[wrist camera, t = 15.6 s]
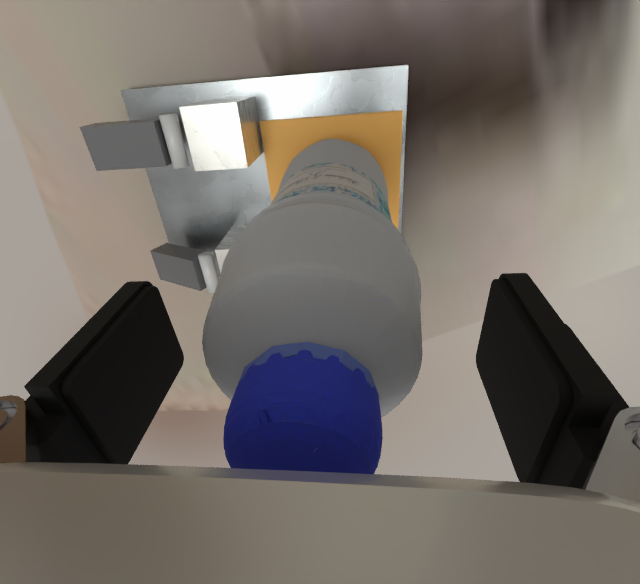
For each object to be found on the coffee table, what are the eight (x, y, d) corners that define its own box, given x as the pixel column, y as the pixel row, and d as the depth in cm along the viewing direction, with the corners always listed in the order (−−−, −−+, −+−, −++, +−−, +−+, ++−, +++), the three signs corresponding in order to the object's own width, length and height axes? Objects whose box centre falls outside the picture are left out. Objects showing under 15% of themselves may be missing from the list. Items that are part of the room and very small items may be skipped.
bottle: (387, 123, 22) (508, 344, 5) (387, 229, 25) (460, 573, 8) (276, 135, 22) (42, 358, 6) (292, 236, 26) (178, 562, 9)
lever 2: (218, 251, 23) (202, 260, 22) (226, 286, 25) (211, 296, 24) (166, 240, 26) (149, 248, 25) (176, 272, 27) (161, 281, 26)
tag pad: (402, 110, 21) (402, 110, 21) (397, 243, 26) (397, 244, 26) (260, 120, 22) (259, 121, 22) (279, 247, 27) (278, 249, 27)
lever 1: (181, 112, 19) (170, 115, 18) (193, 162, 21) (184, 169, 20) (94, 119, 20) (78, 122, 19) (112, 168, 21) (98, 174, 20)
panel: (406, 64, 21) (421, 65, 16) (398, 264, 28) (407, 305, 23) (129, 88, 23) (72, 95, 18) (185, 271, 30) (154, 310, 25)
